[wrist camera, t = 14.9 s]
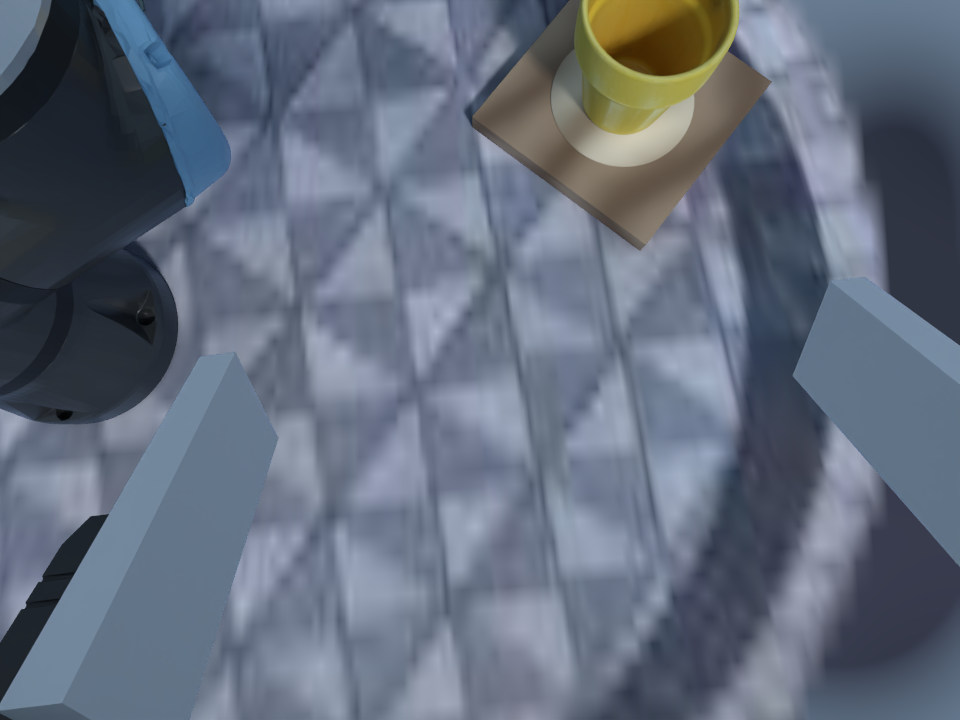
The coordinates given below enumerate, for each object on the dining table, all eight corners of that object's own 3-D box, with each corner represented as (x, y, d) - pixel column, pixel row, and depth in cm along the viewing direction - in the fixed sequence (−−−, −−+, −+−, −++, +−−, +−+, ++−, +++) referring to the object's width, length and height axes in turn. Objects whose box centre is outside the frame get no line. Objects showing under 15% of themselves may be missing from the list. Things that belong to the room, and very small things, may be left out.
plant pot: (542, 135, 42) (559, 51, 32) (580, 27, 43) (609, -87, 33) (661, 174, 41) (715, 101, 32) (697, 64, 42) (761, -40, 33)
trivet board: (472, 127, 44) (472, 115, 42) (596, -22, 45) (600, -39, 44) (639, 250, 42) (646, 244, 41) (762, 93, 44) (772, 80, 42)
